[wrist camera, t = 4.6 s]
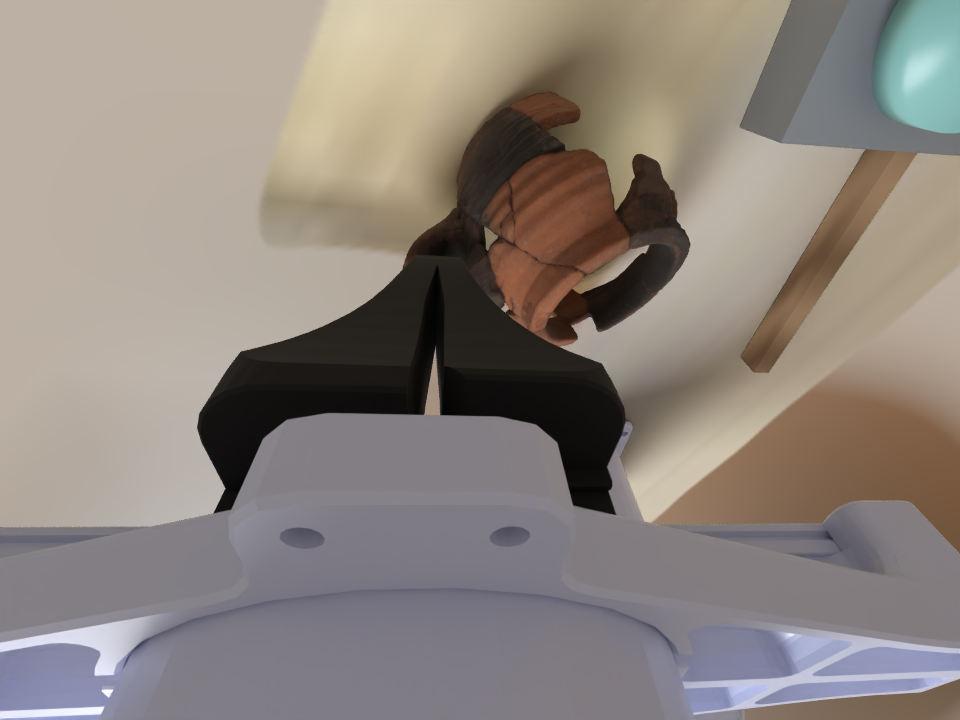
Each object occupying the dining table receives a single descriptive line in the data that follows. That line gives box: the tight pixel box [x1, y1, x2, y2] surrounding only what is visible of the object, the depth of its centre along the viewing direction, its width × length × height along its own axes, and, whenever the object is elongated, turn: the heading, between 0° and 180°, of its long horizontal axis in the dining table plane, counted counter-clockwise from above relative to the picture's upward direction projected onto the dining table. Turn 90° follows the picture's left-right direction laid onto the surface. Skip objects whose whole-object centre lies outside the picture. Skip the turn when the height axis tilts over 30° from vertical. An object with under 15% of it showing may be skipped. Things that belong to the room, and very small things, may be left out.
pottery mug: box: [403, 92, 690, 346], centre depth 19 cm, size 12×10×8 cm
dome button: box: [872, 0, 960, 133], centre depth 14 cm, size 6×6×4 cm
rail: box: [741, 149, 917, 373], centre depth 22 cm, size 14×1×2 cm, turn 176°
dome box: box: [740, 0, 960, 156], centre depth 15 cm, size 8×8×3 cm
